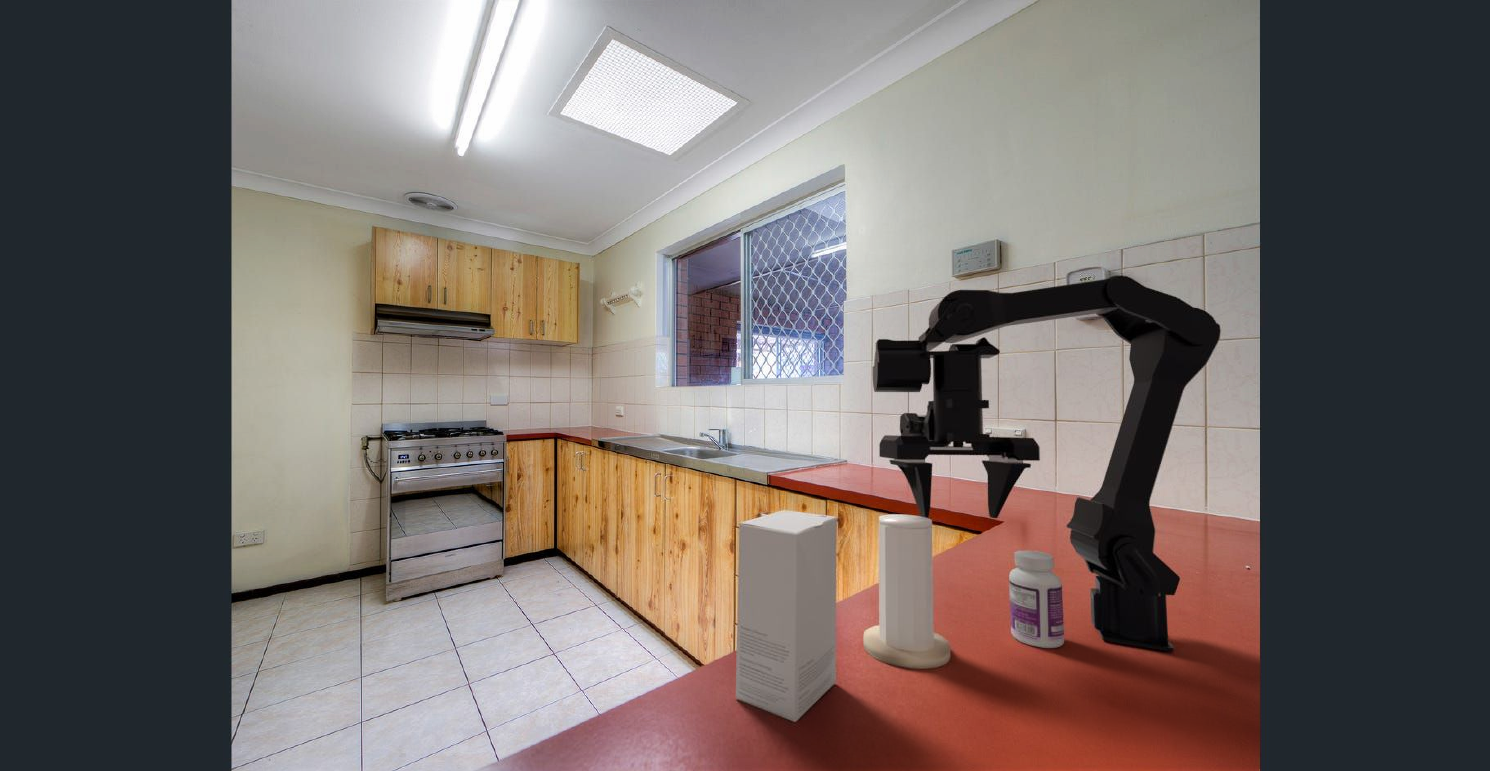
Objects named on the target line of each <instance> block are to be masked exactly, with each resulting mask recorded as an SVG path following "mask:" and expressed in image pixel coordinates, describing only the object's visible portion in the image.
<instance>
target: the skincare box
mask: <svg viewBox="0 0 1490 771" xmlns="http://www.w3.org/2000/svg"><path fill="white" fill-rule="evenodd" d="M837 528H838V517H837V516H833V515H825V514H819V513H818V514H817V513H809V512H803V511H802V512H801V511H794V510H787V509H783V510H778V511H776V512H772V513H770V514H767V515H763V516H759V517H755V518H752V519H748V520H744V521H741V522H738V559H737V560H738V566H737V569H738V570H737V571H738V572H737V573H738V574H737V613H736V614H737V617H736V618H737V619H736V620H737V622H736V663H735V664H736V666H735V672H736V673H735V699H736V700H738V701H740V702H743V703H746V704H749V705H751V706H753V707H756V708H757V709H761V710H764V711H765V712H768V713H771V714H772V715H776V716H779V717H782V718H783V719H786V720H789V721H791V722H793V723H796V722H798V720H799V719H800V718H801V717H803V715H804V714H805V713H806V712H807V711H808V710H809V709H811V708H812V707H813V705H814V704H816V702H817V701H819V700H820V699H821V697H822V696H824V695H825V693H827V692H828V691H829V690H830V689H831V688H832V687H833V686H834V685H835V684H836V682H837V679H836V678H837V675H836V674H837V672H836V670H837V669H836V668H837V666H836V664H837V661H836V660H837V654H836V653H837V650H836V649H837V636H836V635H837V547H838V546H837V545H838V544H837V543H838V542H837V539H838V536H837V535H838V532H837V531H838V529H837Z"/></svg>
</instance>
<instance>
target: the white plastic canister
mask: <svg viewBox="0 0 1490 771" xmlns="http://www.w3.org/2000/svg"><path fill="white" fill-rule="evenodd" d="M878 520H879V521H878V609H879V610H878V611H879V612H878V618H879V619H878V621H879V622H878V625H879V639H880V640H881V641H882V642H884V643H885V644H886V645H888V646H891V647H894V648H896V649H900V650H907V651H924V650H928V649H930V648H932V647H934V628H935V627H934V578H933V577H934V570H933V567H934V564H933V563H934V562H933V561H934V560H933V519H930V517H929V518H926V517H921V515H912V514H900V513H898V514H896V513H891V514H889V513H888V514H882V515H880V516H878Z"/></svg>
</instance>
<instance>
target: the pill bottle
mask: <svg viewBox="0 0 1490 771" xmlns="http://www.w3.org/2000/svg"><path fill="white" fill-rule="evenodd" d="M1054 559H1055V558H1054V556H1053V555H1052V554H1049V553H1046V552H1042V551H1036V550H1016V551H1015V552H1014V561H1013V562H1014V563H1015V566H1017V567H1015V568H1013V569H1012V570H1011V571H1010V573H1009V574H1008V575H1009V576H1008V577H1009V578H1008V581H1009V584H1008V585H1009V587H1008V589H1009V612H1010V613H1009V614H1010V615H1009V616H1010V617H1009V618H1010V632H1011V635H1012V636H1013V638H1014V639H1016V641H1018V642H1021V643H1022V644H1025V645H1029V646H1033V647H1038V648H1041V649H1055V648H1059V647H1060V648H1061V646H1063V645H1064V643H1065V629H1064V628H1065V624H1064V603H1063V601H1064V600H1063V598H1064V597H1063V584H1062V580H1061V579H1060V577H1059V576H1058V575H1057V574H1056V573H1055V572H1053V571H1054V568H1055V561H1054Z"/></svg>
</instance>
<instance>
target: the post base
mask: <svg viewBox="0 0 1490 771" xmlns="http://www.w3.org/2000/svg"><path fill="white" fill-rule="evenodd" d="M863 648H864V650H865V652H866V653H867V654H868V655H870V656H871V657H873V658H874V659H876V660H879V661H881V662H883V663H886V664H889V665H893V666H895V667H896V666H897V667H900V668H905V669H916V670H918V669H919V670H920V669H921V670H925V669H926V670H927V669H928V670H929V669H935V668H939V667H942V666H945V665H946V664H948V663H949V661H950V660H951V644H950V642H949V641H948V640H947V639H946V638H945V637H944V636H942V635H941V634H938V633H937V632H934V647H932V648H930V649H928V650H924V651H907V650H900V649H896V648H894V647H891V646H888V645H886V644H885V643H884V642H882V641H881V640H880V639H879V624H877V625H874V626H870V627H869V628H867V629H866V630H865V631H864V632H863Z"/></svg>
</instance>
